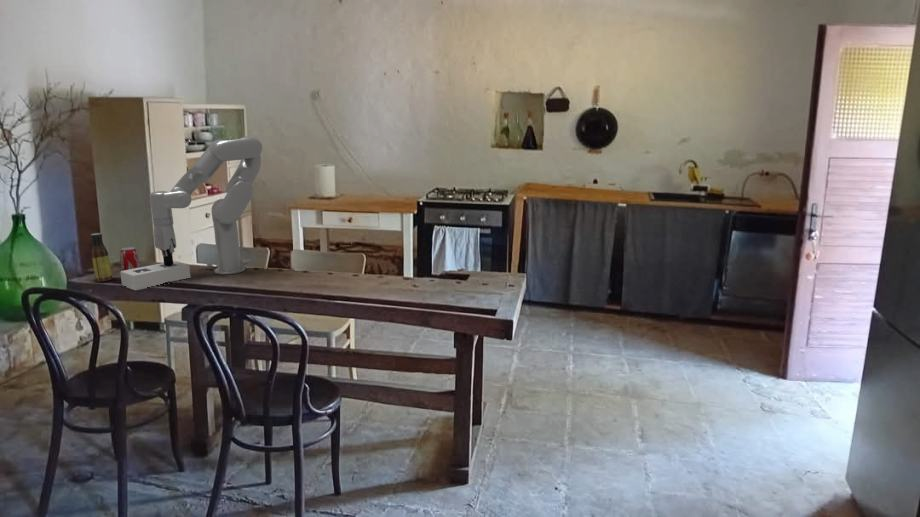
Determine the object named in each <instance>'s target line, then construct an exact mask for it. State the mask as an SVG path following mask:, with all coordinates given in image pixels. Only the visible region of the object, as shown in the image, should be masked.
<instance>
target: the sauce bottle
mask: <svg viewBox="0 0 920 517" xmlns="http://www.w3.org/2000/svg"><path fill="white" fill-rule="evenodd" d="M90 239H91V241H92V248H91V251H90V254H91V260H92V265H93V270H94V271H93V272H94V278H95V280H96V282H99V283H103V282H109V281H111V280H113V271H112V267H111V260H110V256H109V252H108V250H107V248H106V246H105V244H104V242H103V235H102V233H101V232H95V233H91V234H90Z"/></svg>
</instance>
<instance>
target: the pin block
mask: <svg viewBox="0 0 920 517" xmlns="http://www.w3.org/2000/svg"><path fill="white" fill-rule="evenodd" d="M173 264H174V265H175V266H171V267H166V268H164V267H162V266H163V265H164V262H162V263H158V264H157V263H155V264H152V265H146V266H140V268H135V269H130V270H124V271H122V270H121V271H120V279H121V286H122V285H123V286H122V287H124V286H126V287H125V288H127V289H130V290H133V291H134V292H135V291H140V290H144V289H148V288H147V287H150V288H152V287H151V286H154V287H157V286H156V285H159V286H161V285H160V284H163V283H165V282H168V281H173V280H179V279H186V278H192V277H191V269H190V264H188V263H184V262H181V261H178V260H173ZM141 269H148V271H146V272H141V273H136V272H135V271H136V270H141Z"/></svg>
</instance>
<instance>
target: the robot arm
mask: <svg viewBox="0 0 920 517" xmlns="http://www.w3.org/2000/svg"><path fill="white" fill-rule="evenodd" d="M262 151H263V144H262V142H261V141H260V140H259V139H258V138H257V137H253V136H243V137H240V138H237V139H235V138H234V139H216V140H214V141H212V143H211V144H210V145H209V146H208V147H207V148H206V150H204V152H203V153H202V154H201V155H200V157H199V158H198V159H197V160H196V162H195V163H194V164H193V165H192V166H191V167H190V168H189V169H188V170H187V171H186V172H185V174H184V175H182V177H180V179H179V180H178V181H177V182H176V184H175V185H174V186H173V187H172V189H170V191H165V190H157V191H152V192H150V194H149V201H150V207H151V208H150V209H151V214H152V215H151V216H152V217H151V218H152V225H153V239H154V247H155V248H156V249H158V250H159V251H161V255H162V257H163V263H164V265H165V266H169V265H173V261H174V258H173V255H174V253H175V252H176V251H175V249H176V248H177V241H176V239H177V238H176V234H175V229H174V218H173V216H174V215H173V210H172V209H185V208H187V207H189V206H190V205H191V203H192V194H193V193H194V192H195V191H196V190H197V189H198V188H199V187H200V186H201V185H202V184H204V183H206V182H208V181H209V180H211V179H212V178H213V177H214V176H215V174H216V173H217V171H218V170H219V169H220V168H221V167H222V165H223V164H224V163H225V162H230V161H239V164H238V166H237V168H236V169H235V172H234V173H233V175H232V176H231V178H230V179H229V180H228V182H227V184H226V188H225V192H226V195H225V196H224V198H219V199H217V200H215V201H214V202H213V204H212V207H211V219H212V224H213V230H214V242H215V251H216V259H217V260H216V261H217V268H215V269H214V273H215V274H218V275H233V274H239V273H242V272H245V270H246V267H245V265H248V264H249V265H250V264H251V263H252V260H251V258H248V259H241V252H240V251H241V250H240V239H239V229H238V223H237V221H239V219H240V218H241V216H243V215H242V214H243V213H244V212H245V210H246V208H247V206H248V205H249V203H250V202H251V200H252V198H253V195H254V187H253V183H254V182H255V181H256V178H257V176H258V175H259V173H260V170H261V166H262V156H261V153H262Z"/></svg>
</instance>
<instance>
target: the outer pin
mask: <svg viewBox="0 0 920 517" xmlns="http://www.w3.org/2000/svg"><path fill="white" fill-rule="evenodd" d="M146 271H148V269H141V270H136V271H135V272H136V273H141V272H146Z"/></svg>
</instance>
